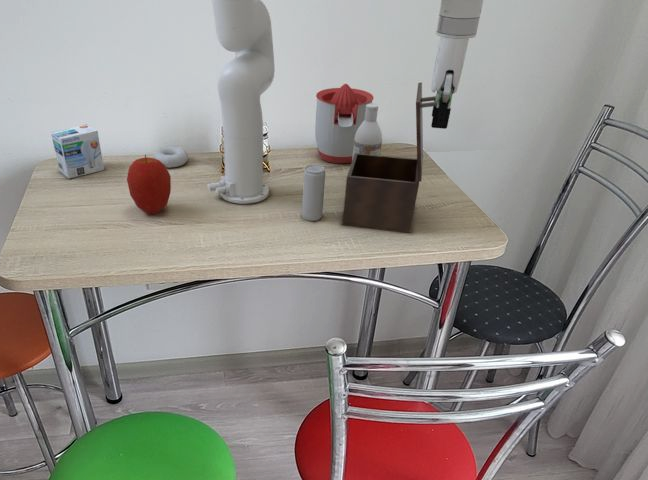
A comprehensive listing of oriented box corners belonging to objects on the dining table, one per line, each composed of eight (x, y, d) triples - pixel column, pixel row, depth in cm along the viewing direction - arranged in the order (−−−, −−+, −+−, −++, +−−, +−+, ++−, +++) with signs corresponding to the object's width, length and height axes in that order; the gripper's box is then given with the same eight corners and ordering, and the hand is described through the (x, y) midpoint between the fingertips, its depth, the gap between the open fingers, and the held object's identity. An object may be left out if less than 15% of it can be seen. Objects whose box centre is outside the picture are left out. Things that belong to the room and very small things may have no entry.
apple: (182, 211, 137) (176, 154, 128) (147, 224, 131) (139, 166, 123) (158, 197, 142) (151, 142, 134) (123, 209, 137) (114, 153, 128)
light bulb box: (69, 179, 151) (59, 138, 144) (58, 171, 155) (49, 131, 148) (105, 169, 156) (98, 130, 149) (94, 162, 160) (87, 123, 153)
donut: (185, 154, 165) (151, 157, 163) (184, 143, 163) (149, 145, 161) (192, 167, 158) (156, 171, 155) (191, 155, 156) (155, 158, 153)
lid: (415, 102, 112) (444, 99, 110) (418, 82, 122) (444, 79, 121) (417, 182, 121) (443, 179, 120) (419, 157, 132) (443, 154, 131)
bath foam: (361, 191, 146) (371, 111, 133) (344, 182, 151) (352, 103, 138) (381, 185, 149) (392, 106, 136) (364, 176, 154) (373, 99, 141)
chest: (342, 225, 132) (347, 176, 124) (349, 199, 143) (354, 152, 135) (409, 233, 129) (419, 183, 121) (412, 205, 140) (421, 158, 132)
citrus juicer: (313, 169, 157) (317, 93, 144) (311, 146, 170) (315, 75, 158) (369, 170, 157) (379, 94, 144) (363, 147, 170) (371, 76, 157)
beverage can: (309, 211, 137) (312, 162, 130) (326, 216, 135) (329, 168, 127) (297, 217, 134) (299, 169, 127) (314, 224, 132) (317, 174, 124)
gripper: (437, 17, 115) (422, 108, 127) (437, 34, 102) (419, 134, 114) (475, 19, 114) (456, 111, 125) (479, 36, 101) (458, 137, 113)
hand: (439, 121), depth 120 cm, fingers open, 6 cm apart
